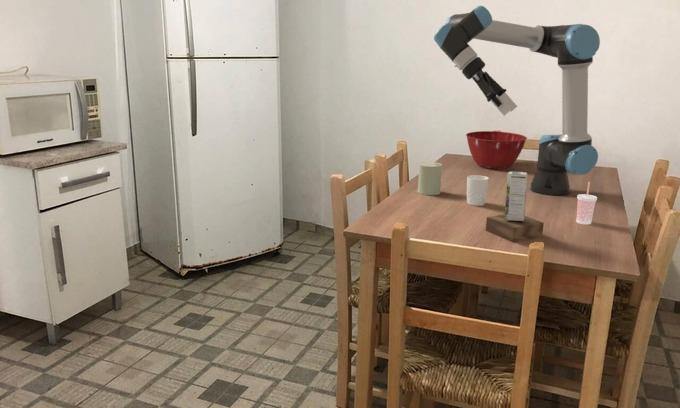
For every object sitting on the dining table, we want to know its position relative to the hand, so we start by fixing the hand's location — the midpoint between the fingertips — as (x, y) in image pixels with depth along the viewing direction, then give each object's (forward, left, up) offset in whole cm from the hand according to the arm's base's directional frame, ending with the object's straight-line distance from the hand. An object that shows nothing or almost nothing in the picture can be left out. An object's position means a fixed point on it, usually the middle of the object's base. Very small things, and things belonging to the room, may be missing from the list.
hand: (511, 111), depth 186 cm
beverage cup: (-20, +17, -36) cm, 45 cm away
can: (+11, -34, -36) cm, 50 cm away
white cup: (+2, -14, -36) cm, 38 cm away
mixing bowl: (-44, -70, -36) cm, 90 cm away
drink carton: (+10, +20, -31) cm, 39 cm away
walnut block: (+10, +20, -36) cm, 43 cm away
